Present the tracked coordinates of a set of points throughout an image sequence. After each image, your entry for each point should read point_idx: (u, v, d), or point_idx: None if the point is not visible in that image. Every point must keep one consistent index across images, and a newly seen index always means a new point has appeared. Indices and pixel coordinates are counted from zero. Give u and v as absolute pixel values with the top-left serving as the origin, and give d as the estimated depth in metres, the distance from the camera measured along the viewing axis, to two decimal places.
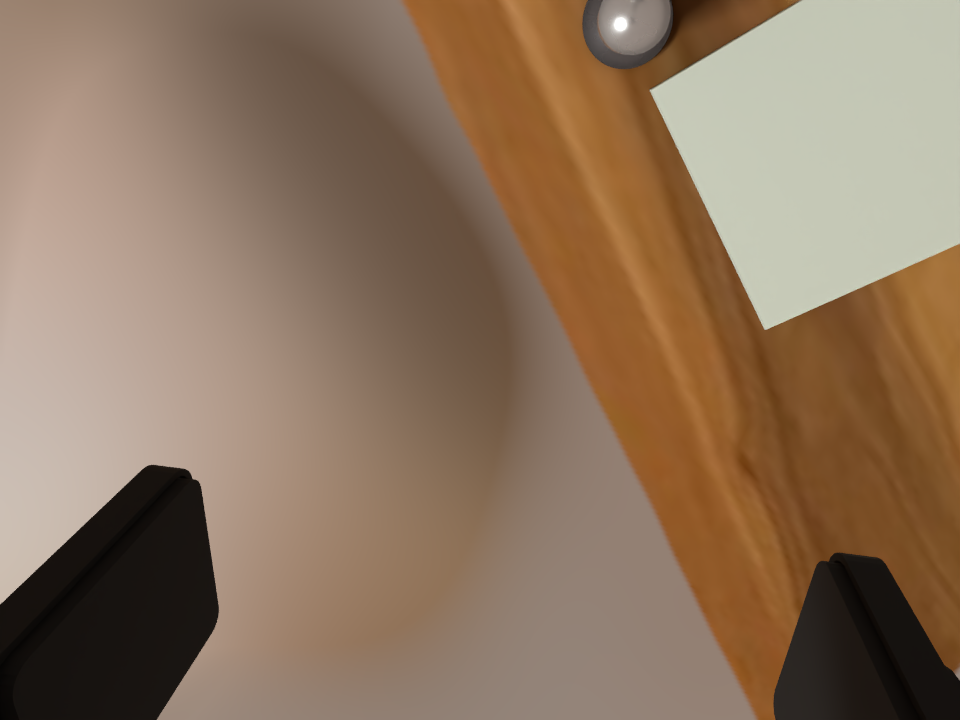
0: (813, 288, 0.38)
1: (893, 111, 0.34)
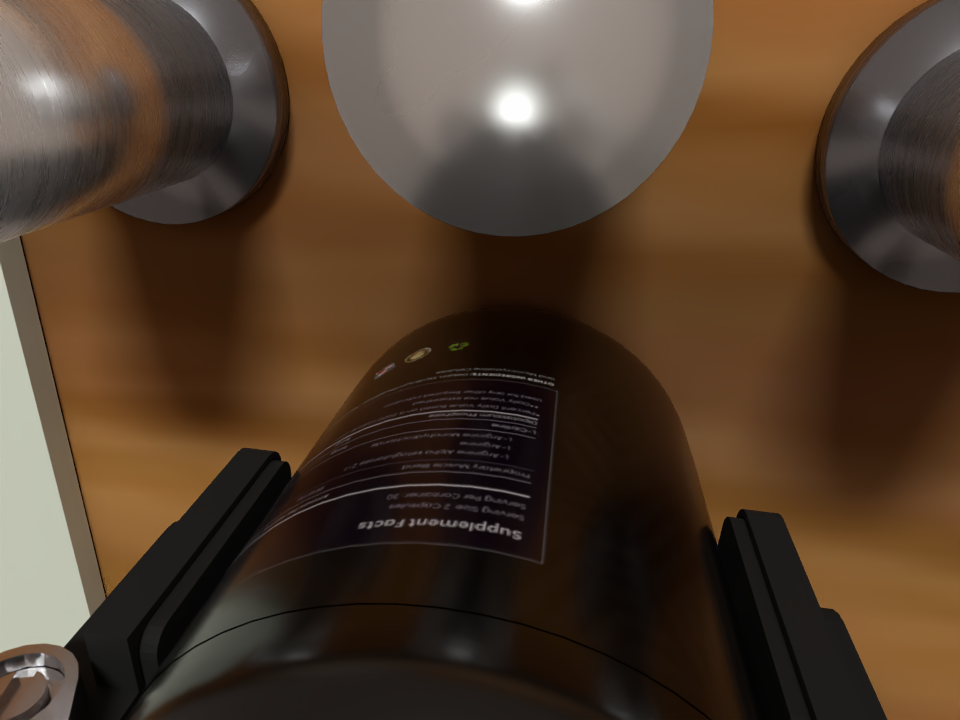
0: None
1: None
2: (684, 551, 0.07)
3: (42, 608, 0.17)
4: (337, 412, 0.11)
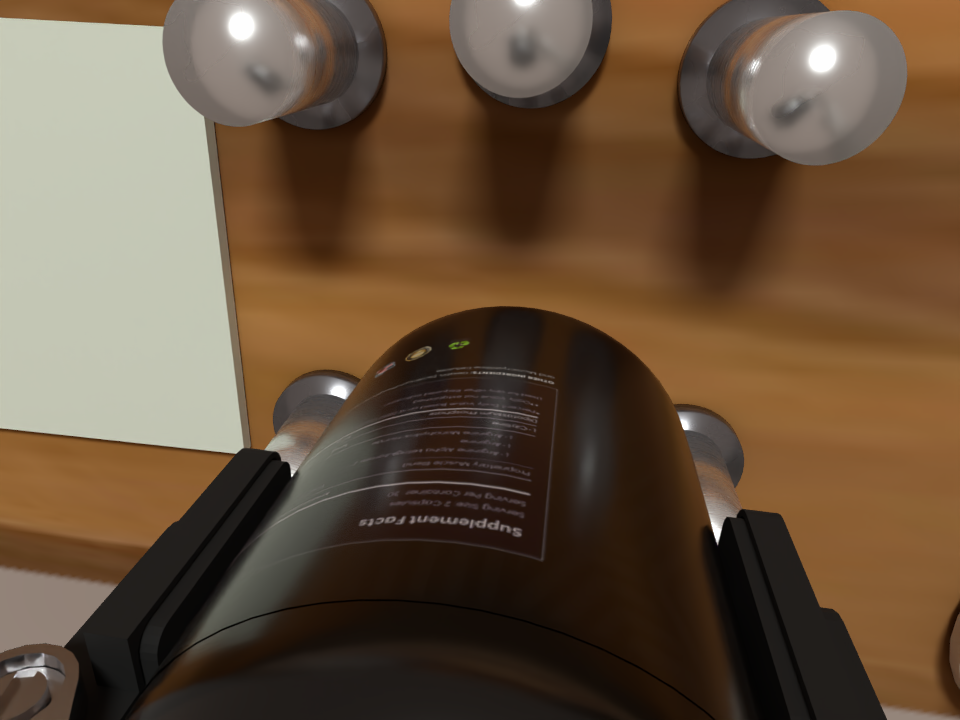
0: None
1: (47, 313, 0.25)
2: (683, 548, 0.07)
3: (205, 397, 0.26)
4: None
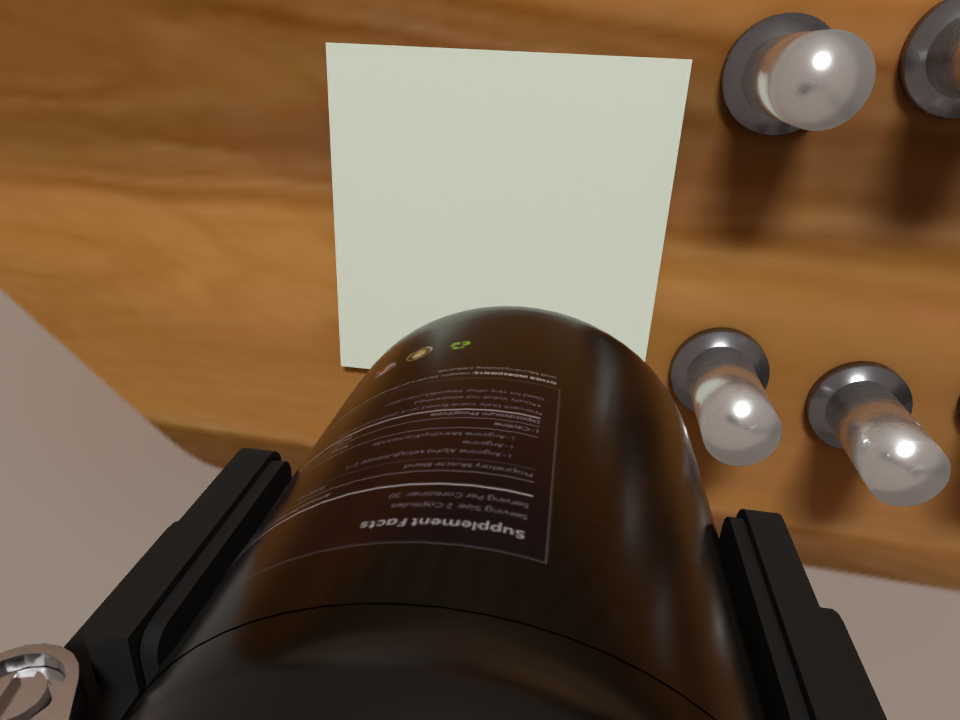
0: (354, 123, 0.30)
1: (503, 280, 0.32)
2: (687, 550, 0.07)
3: None
4: (338, 411, 0.11)
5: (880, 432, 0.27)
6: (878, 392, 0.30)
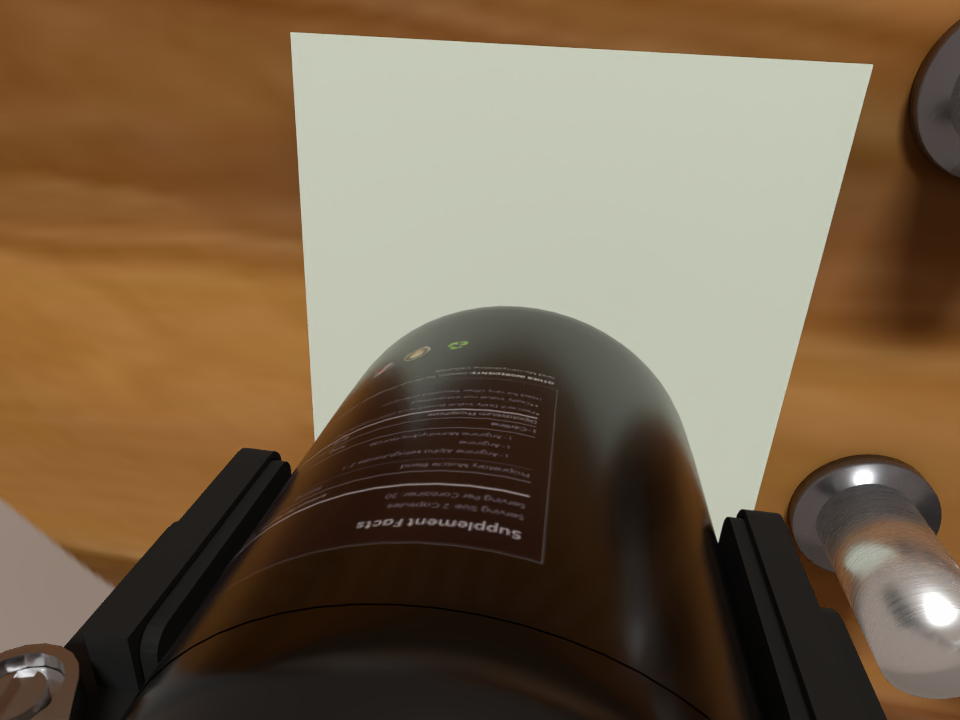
0: (335, 156, 0.20)
1: None
2: (684, 551, 0.07)
3: (719, 483, 0.22)
4: (336, 411, 0.11)
5: None
6: None
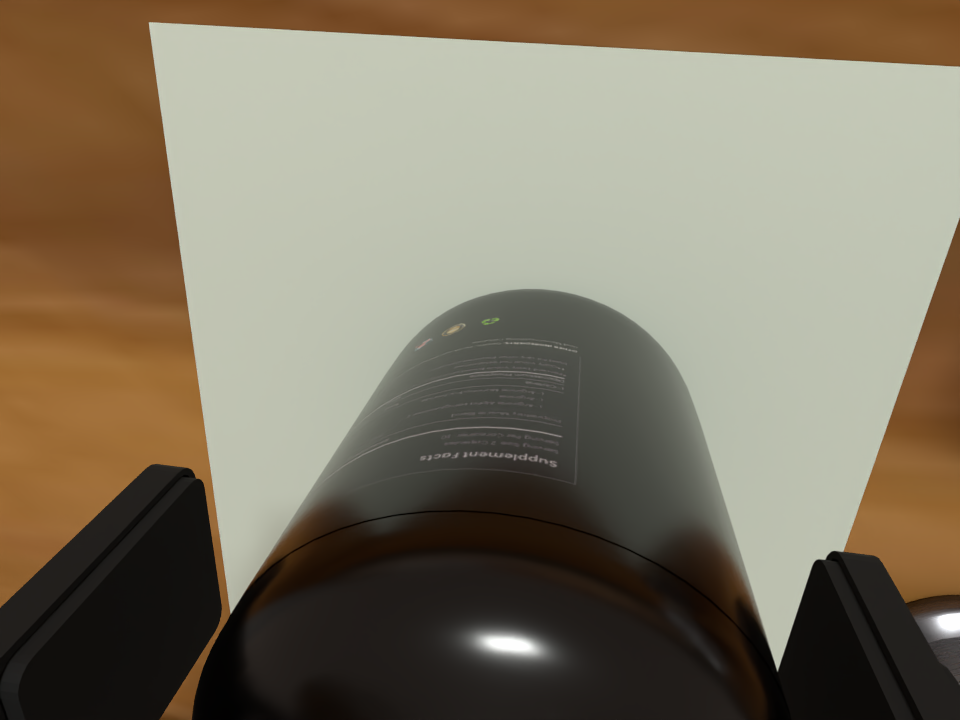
0: (224, 198, 0.14)
1: None
2: (692, 486, 0.09)
3: None
4: None
5: None
6: None
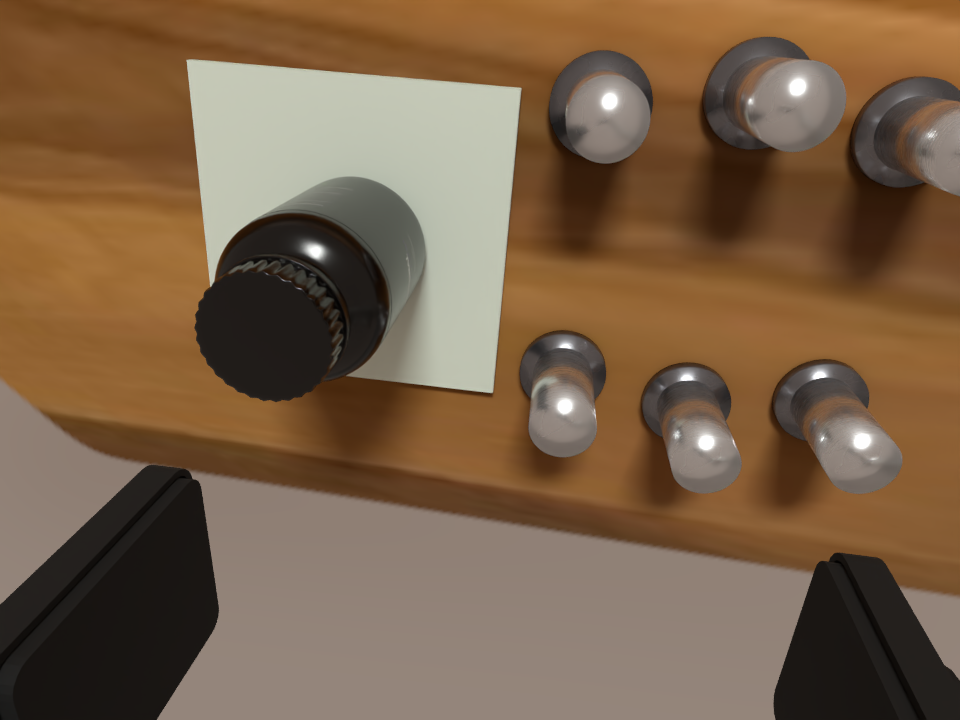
0: (217, 136, 0.32)
1: None
2: (375, 223, 0.27)
3: (471, 349, 0.35)
4: None
5: (685, 427, 0.31)
6: (696, 391, 0.33)
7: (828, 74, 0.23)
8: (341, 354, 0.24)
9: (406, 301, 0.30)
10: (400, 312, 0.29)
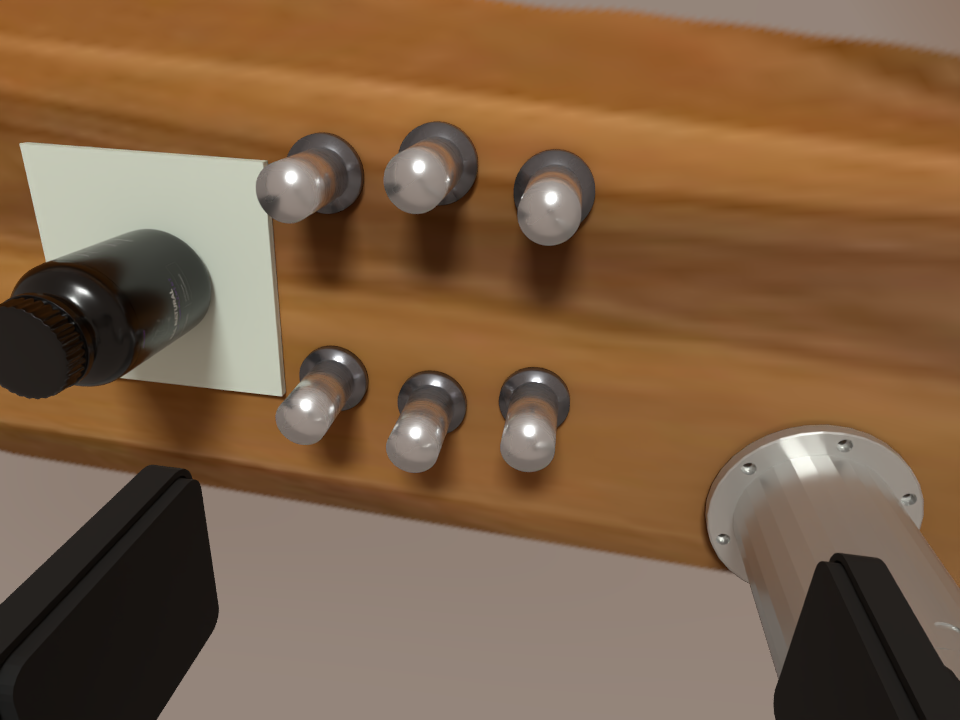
0: (48, 199, 0.41)
1: None
2: (136, 267, 0.36)
3: (260, 361, 0.44)
4: None
5: (400, 421, 0.39)
6: (427, 393, 0.42)
7: (428, 159, 0.32)
8: (87, 364, 0.33)
9: (179, 324, 0.39)
10: (172, 333, 0.39)
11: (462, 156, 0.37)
